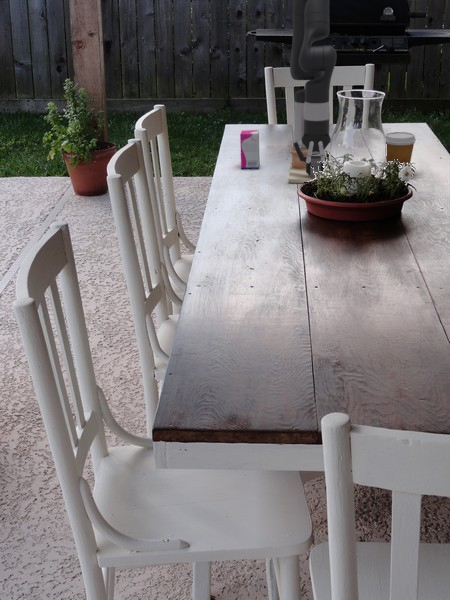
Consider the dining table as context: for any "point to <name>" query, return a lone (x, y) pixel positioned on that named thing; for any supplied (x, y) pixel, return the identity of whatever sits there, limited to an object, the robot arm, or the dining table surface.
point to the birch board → (304, 171)
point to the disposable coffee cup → (399, 146)
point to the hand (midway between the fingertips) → (315, 174)
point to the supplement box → (249, 149)
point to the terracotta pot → (295, 158)
